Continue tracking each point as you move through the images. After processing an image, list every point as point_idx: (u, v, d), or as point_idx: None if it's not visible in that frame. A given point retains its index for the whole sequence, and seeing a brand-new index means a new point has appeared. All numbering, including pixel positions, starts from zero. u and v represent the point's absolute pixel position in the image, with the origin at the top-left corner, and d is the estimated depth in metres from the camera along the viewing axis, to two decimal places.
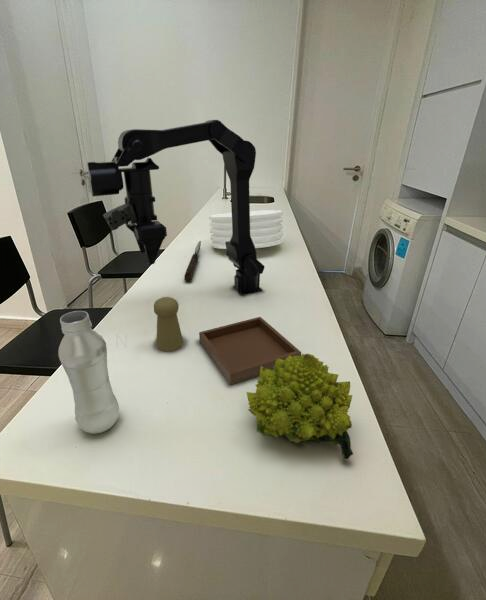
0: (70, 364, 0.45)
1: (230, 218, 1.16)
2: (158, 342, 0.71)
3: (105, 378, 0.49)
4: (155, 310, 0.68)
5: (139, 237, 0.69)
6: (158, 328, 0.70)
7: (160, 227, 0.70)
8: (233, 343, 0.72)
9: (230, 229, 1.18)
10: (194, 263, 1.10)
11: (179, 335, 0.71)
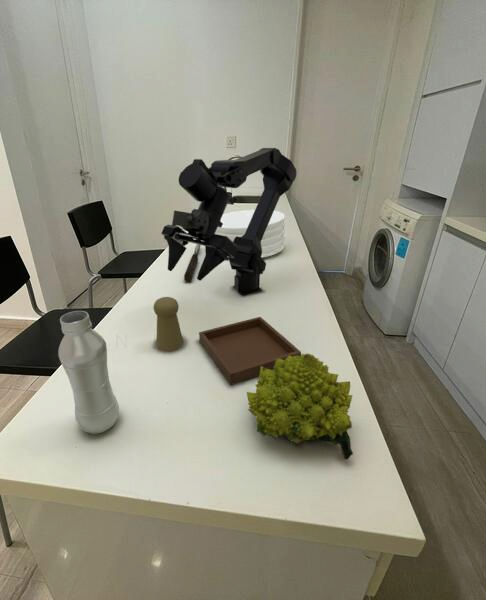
0: (70, 364, 0.45)
1: (242, 229, 1.13)
2: (158, 342, 0.71)
3: (105, 378, 0.49)
4: (155, 310, 0.68)
5: (221, 244, 0.67)
6: (158, 328, 0.70)
7: (236, 247, 0.71)
8: (233, 343, 0.72)
9: None
10: (194, 263, 1.10)
11: (179, 335, 0.71)
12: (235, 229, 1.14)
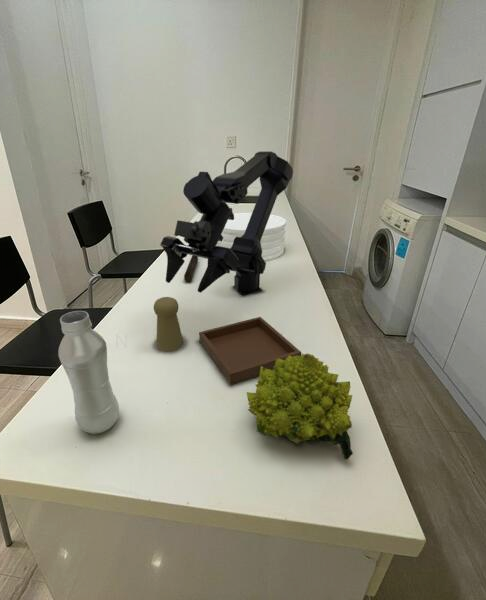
0: (70, 364, 0.45)
1: None
2: (158, 342, 0.71)
3: (105, 378, 0.49)
4: (155, 310, 0.68)
5: (225, 256, 0.66)
6: (158, 328, 0.70)
7: (238, 260, 0.70)
8: (233, 343, 0.72)
9: None
10: (194, 263, 1.10)
11: (179, 335, 0.71)
12: (238, 231, 1.14)
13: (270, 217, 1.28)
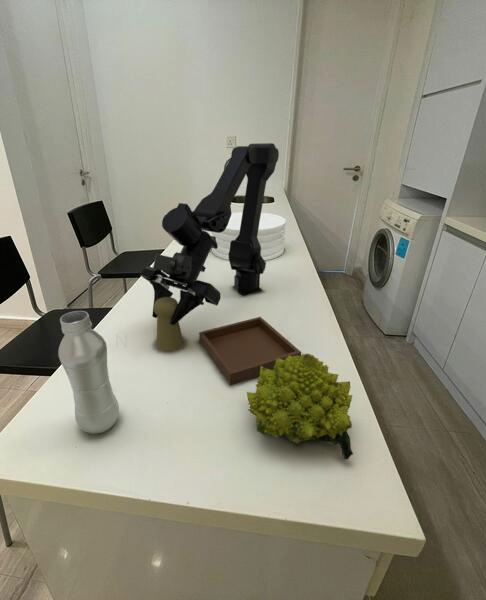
0: (70, 364, 0.45)
1: None
2: (158, 342, 0.71)
3: (105, 378, 0.49)
4: (155, 310, 0.68)
5: (204, 292, 0.64)
6: (158, 328, 0.70)
7: (219, 294, 0.68)
8: (233, 343, 0.72)
9: None
10: None
11: (179, 335, 0.71)
12: (238, 231, 1.14)
13: (270, 217, 1.28)
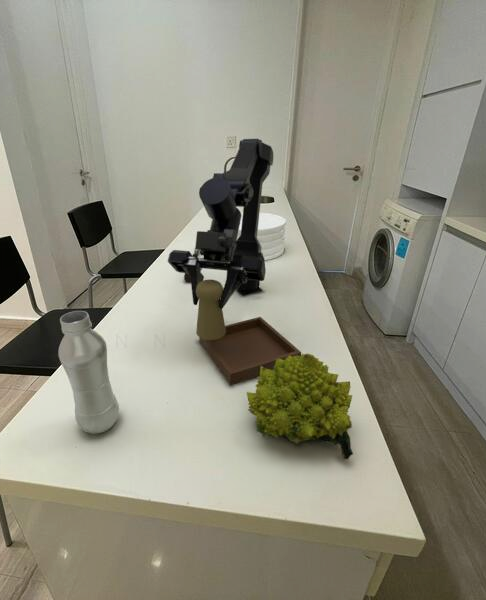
0: (70, 364, 0.45)
1: None
2: (203, 331, 0.64)
3: (105, 378, 0.49)
4: (201, 295, 0.61)
5: (259, 266, 0.59)
6: (203, 315, 0.63)
7: None
8: (233, 343, 0.72)
9: None
10: None
11: (223, 320, 0.65)
12: (238, 231, 1.14)
13: (270, 217, 1.28)
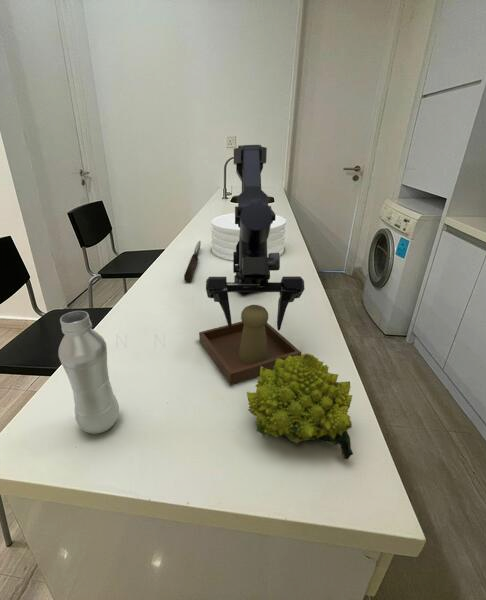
0: (70, 364, 0.45)
1: None
2: (250, 356, 0.65)
3: (105, 378, 0.49)
4: (251, 322, 0.61)
5: (302, 285, 0.62)
6: (251, 341, 0.64)
7: None
8: (233, 343, 0.72)
9: None
10: (194, 263, 1.10)
11: None
12: (238, 230, 1.14)
13: None
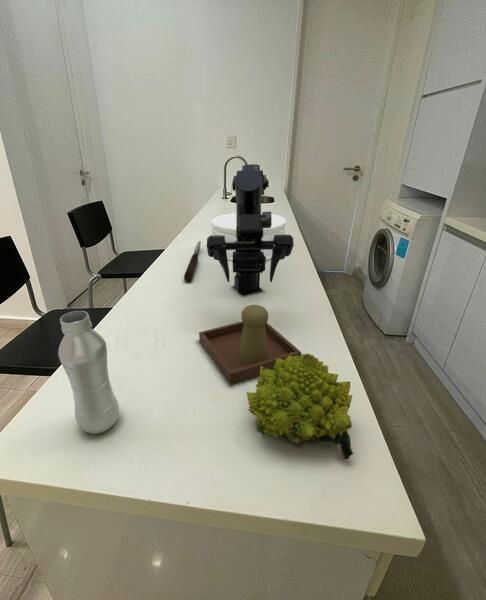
0: (70, 364, 0.45)
1: None
2: (250, 356, 0.65)
3: (105, 378, 0.49)
4: (251, 322, 0.61)
5: (291, 242, 0.70)
6: (251, 341, 0.64)
7: None
8: (233, 343, 0.72)
9: None
10: (194, 263, 1.10)
11: None
12: None
13: None
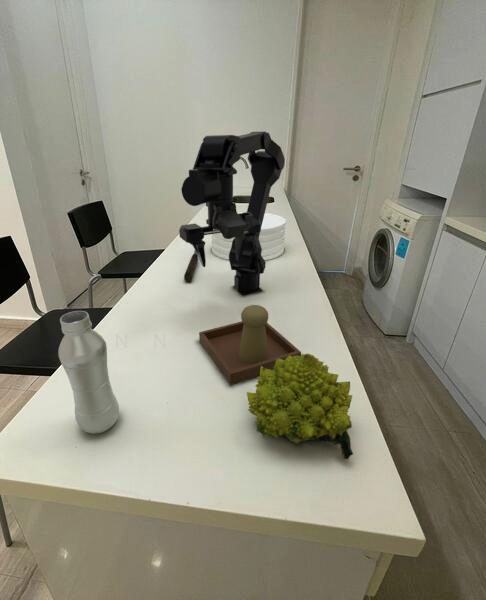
0: (70, 364, 0.45)
1: None
2: (250, 356, 0.65)
3: (105, 378, 0.49)
4: (251, 322, 0.61)
5: (260, 229, 0.78)
6: (251, 341, 0.64)
7: None
8: (233, 343, 0.72)
9: None
10: (194, 263, 1.10)
11: None
12: None
13: (270, 217, 1.28)
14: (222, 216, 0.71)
